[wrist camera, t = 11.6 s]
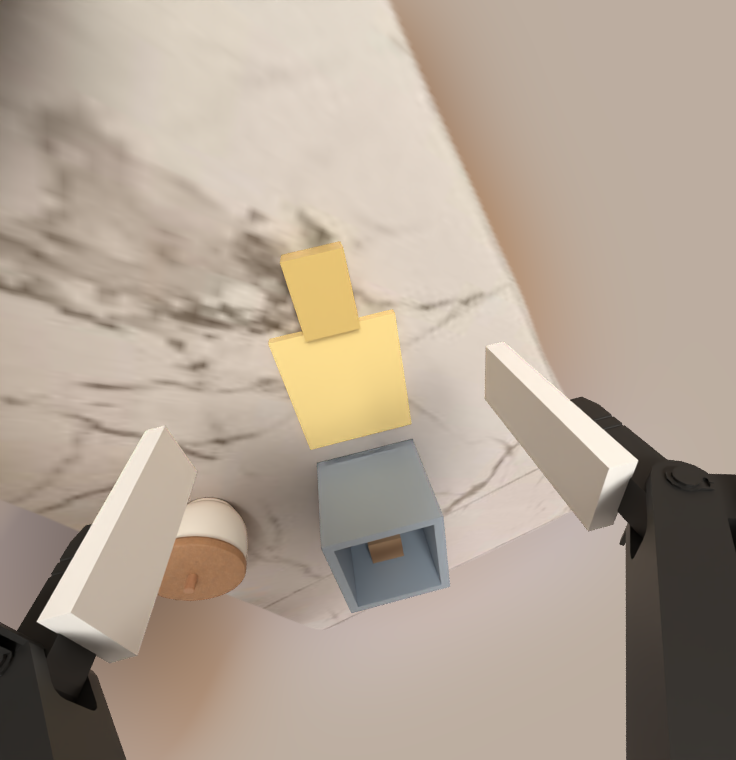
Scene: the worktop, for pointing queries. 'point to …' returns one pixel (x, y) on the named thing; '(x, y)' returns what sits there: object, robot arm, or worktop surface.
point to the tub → (381, 525)
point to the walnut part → (386, 548)
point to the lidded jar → (206, 552)
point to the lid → (338, 354)
